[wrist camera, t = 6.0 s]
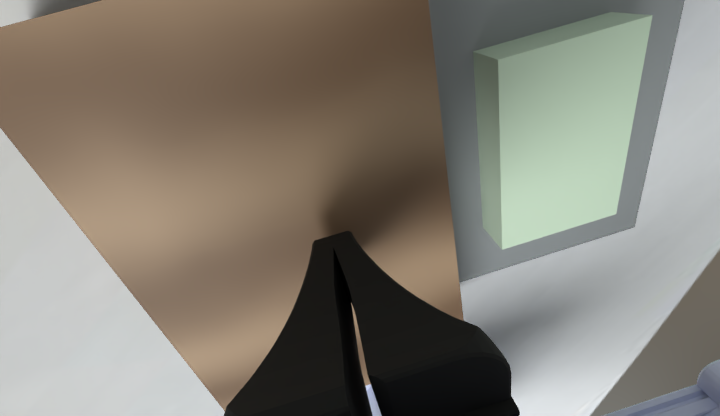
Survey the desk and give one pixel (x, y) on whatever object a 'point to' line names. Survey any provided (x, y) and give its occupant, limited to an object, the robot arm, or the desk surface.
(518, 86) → the pale green block
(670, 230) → the desk surface
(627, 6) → the mat
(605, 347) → the desk surface
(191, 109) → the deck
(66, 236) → the desk surface
